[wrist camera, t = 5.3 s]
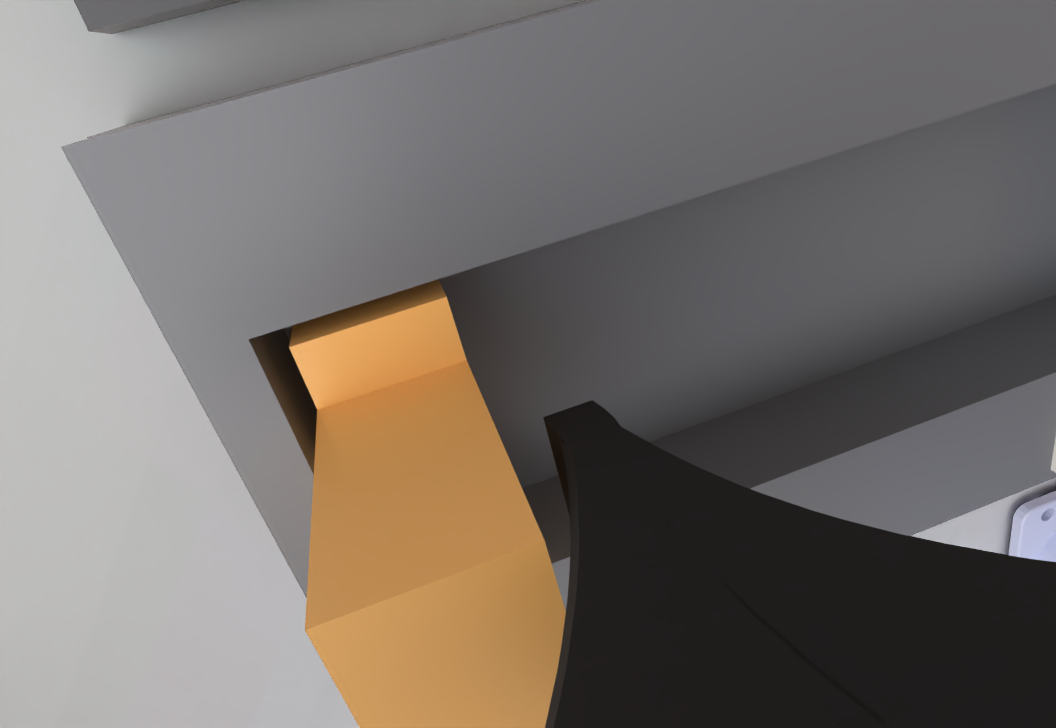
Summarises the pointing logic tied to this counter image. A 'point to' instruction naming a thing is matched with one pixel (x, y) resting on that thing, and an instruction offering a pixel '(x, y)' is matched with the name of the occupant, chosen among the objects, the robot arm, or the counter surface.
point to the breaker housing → (637, 241)
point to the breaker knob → (420, 528)
